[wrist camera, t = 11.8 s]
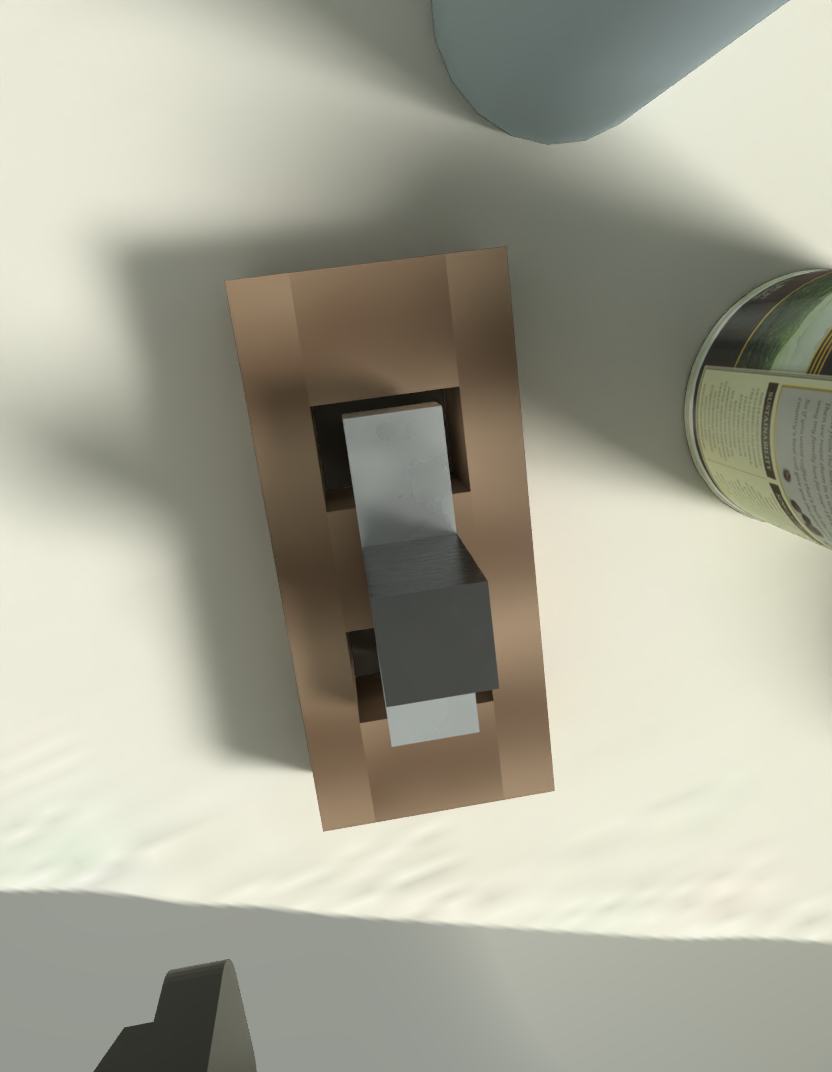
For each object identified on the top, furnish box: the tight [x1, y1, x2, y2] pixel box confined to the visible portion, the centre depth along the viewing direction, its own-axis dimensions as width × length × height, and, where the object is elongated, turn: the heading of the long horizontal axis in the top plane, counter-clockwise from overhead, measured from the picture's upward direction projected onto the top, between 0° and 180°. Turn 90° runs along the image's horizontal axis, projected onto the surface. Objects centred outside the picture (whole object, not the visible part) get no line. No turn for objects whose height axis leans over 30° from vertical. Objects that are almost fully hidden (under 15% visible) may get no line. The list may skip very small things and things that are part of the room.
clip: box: [342, 401, 499, 747], centre depth 26 cm, size 11×3×12 cm, turn 7°
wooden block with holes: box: [225, 246, 555, 832], centre depth 29 cm, size 20×9×4 cm, turn 7°
